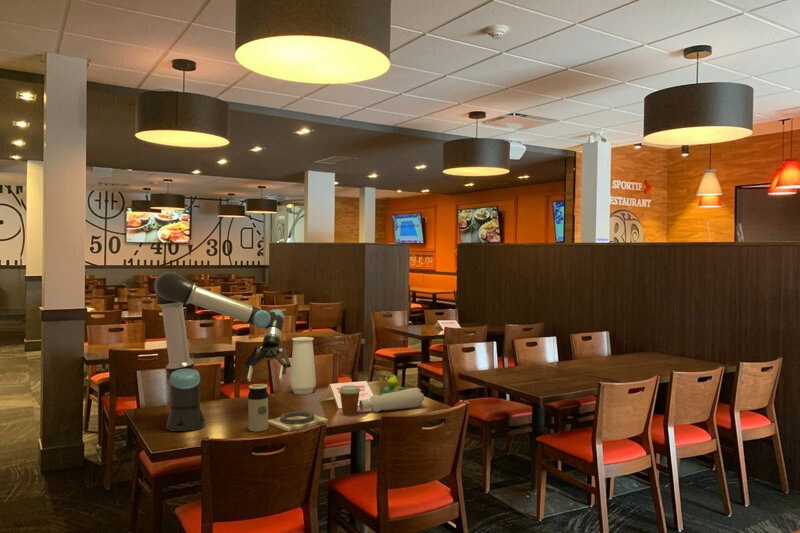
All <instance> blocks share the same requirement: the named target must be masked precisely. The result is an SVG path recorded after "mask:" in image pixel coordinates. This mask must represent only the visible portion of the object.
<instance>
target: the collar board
mask: <svg viewBox="0 0 800 533" xmlns="http://www.w3.org/2000/svg"><path fill="white" fill-rule="evenodd" d="M327 421H328V422H329V419H328V418H326V417H322V416H319V415H317V414H314V413H313V412H309V411H303V410H302V411H301V410H299V411H289V412H285V413H282V414H281V415H279V417H276V418H272V419H268V426H269V425H270V426H272V427H274V428H278V429H280V430H283V431H286V432H289V433H290V432H294V431H298V430H301V429H305V428H310V427H313V425H314V426H317V425H316V424H318V423H322V424H324V423H323V422H326V423H328V422H327ZM318 425H319V424H318Z"/></svg>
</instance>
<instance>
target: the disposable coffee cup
mask: <svg viewBox="0 0 800 533" xmlns="http://www.w3.org/2000/svg"><path fill="white" fill-rule="evenodd" d="M338 392H339V394H340V402H341V409H342V410H341V411H342V415H343V414H344V415H343V416H346V415H352V416H356V415H357V414H358V406H359V399H360V398H359V397H360V392H361V388H360V386H358V385H353V384H351V385H349V384H348V385H342V386H340V388H339V390H338ZM355 414H356V415H355Z"/></svg>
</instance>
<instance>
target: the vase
mask: <svg viewBox="0 0 800 533" xmlns="http://www.w3.org/2000/svg"><path fill="white" fill-rule="evenodd" d="M314 339H315V338H314V337H309V336H299V337H293V338H291V340H292V351H291V352H292V354H291V363H290V364H291V367H290V387H291V389H292V391H293V394H296V395H310V394H312V393H314V388H315V387H316V385H317V382H316V378H317V377H316V368H315V367H316V366H315V354H314V342H313V341H314Z"/></svg>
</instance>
